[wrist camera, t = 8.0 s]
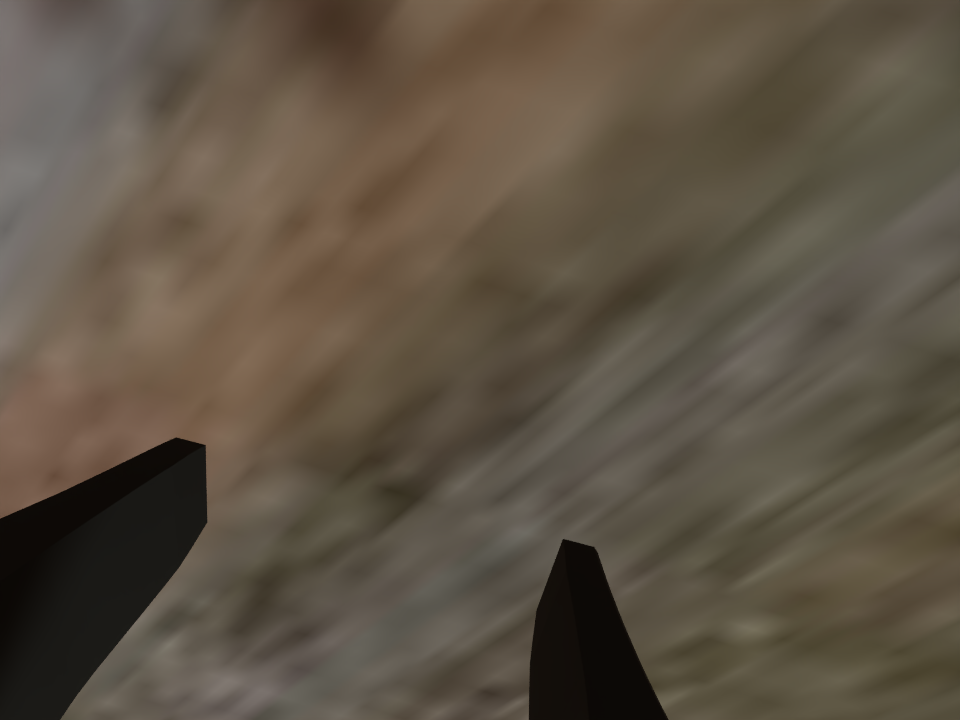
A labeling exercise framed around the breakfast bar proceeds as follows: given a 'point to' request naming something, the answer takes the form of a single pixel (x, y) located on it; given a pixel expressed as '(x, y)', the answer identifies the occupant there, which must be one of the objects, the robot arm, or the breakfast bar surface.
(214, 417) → the breakfast bar surface
